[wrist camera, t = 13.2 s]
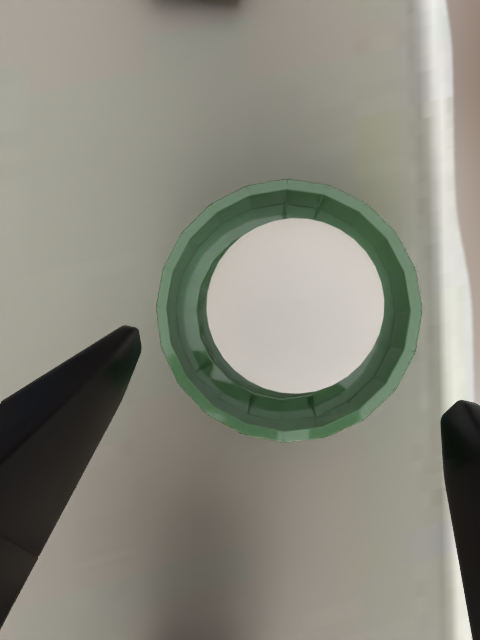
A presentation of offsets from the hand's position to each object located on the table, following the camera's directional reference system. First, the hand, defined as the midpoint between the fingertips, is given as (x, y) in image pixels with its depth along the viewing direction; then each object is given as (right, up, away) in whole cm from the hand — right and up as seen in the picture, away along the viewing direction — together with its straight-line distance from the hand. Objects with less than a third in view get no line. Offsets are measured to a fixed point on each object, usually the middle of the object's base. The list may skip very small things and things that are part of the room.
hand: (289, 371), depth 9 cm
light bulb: (+1, +2, +11) cm, 12 cm away
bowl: (+1, +2, +12) cm, 12 cm away
